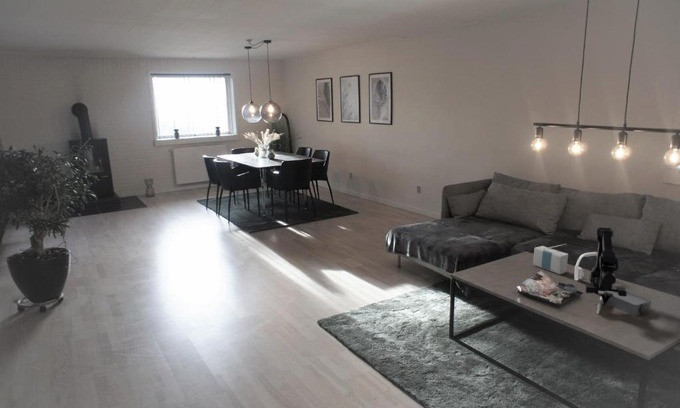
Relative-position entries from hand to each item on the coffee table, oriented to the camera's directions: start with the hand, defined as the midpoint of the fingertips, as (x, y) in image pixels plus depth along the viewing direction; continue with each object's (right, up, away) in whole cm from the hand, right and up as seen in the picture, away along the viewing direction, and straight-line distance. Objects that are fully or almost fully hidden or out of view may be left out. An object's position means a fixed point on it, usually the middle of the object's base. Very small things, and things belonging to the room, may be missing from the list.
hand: (604, 305), depth 246 cm
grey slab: (+14, -2, +5) cm, 15 cm away
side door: (-1, -2, +4) cm, 4 cm away
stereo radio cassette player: (-2, +10, +60) cm, 61 cm away
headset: (+15, +7, +43) cm, 46 cm away
